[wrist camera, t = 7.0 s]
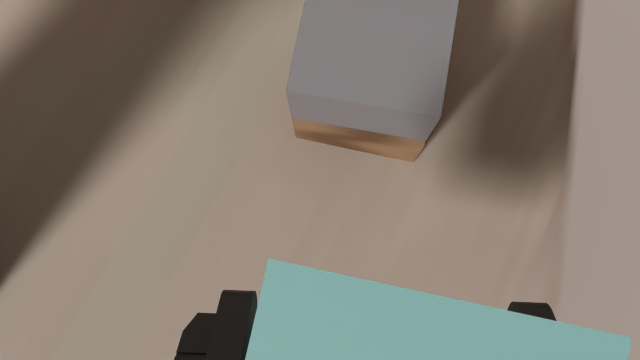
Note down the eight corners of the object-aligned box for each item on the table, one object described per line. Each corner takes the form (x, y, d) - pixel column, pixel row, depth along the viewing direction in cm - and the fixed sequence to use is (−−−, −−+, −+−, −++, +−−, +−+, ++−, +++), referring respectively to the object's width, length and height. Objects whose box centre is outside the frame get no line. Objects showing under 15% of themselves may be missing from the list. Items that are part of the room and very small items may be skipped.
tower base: (296, 138, 32) (291, 118, 28) (321, 31, 34) (321, -3, 30) (412, 163, 32) (424, 146, 28) (434, 53, 33) (448, 22, 29)
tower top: (291, 117, 28) (285, 90, 24) (317, -4, 30) (315, -48, 26) (425, 141, 28) (441, 117, 24) (444, 17, 29) (462, -25, 25)
